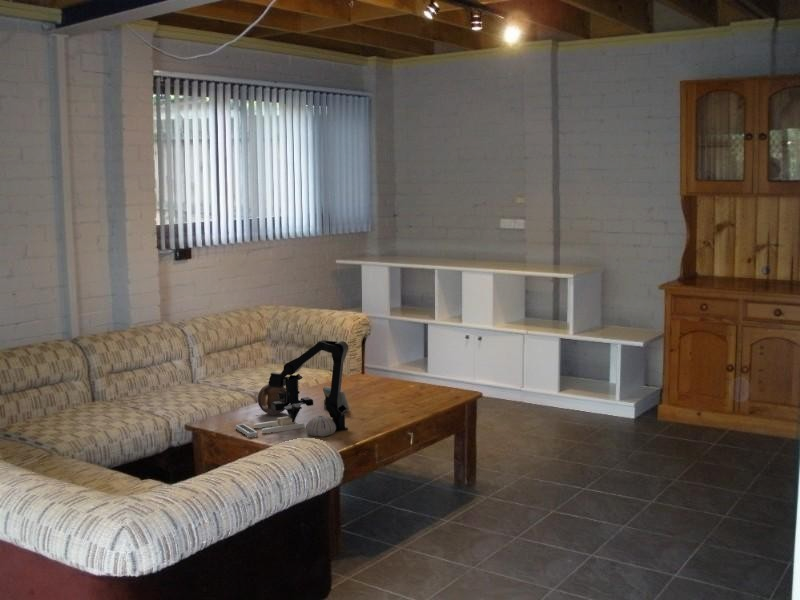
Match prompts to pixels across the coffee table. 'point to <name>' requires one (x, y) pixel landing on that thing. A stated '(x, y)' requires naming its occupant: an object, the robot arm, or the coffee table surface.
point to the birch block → (284, 421)
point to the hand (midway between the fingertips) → (292, 422)
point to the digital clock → (344, 400)
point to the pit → (251, 432)
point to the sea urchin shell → (321, 426)
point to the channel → (278, 428)
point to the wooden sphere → (269, 399)
